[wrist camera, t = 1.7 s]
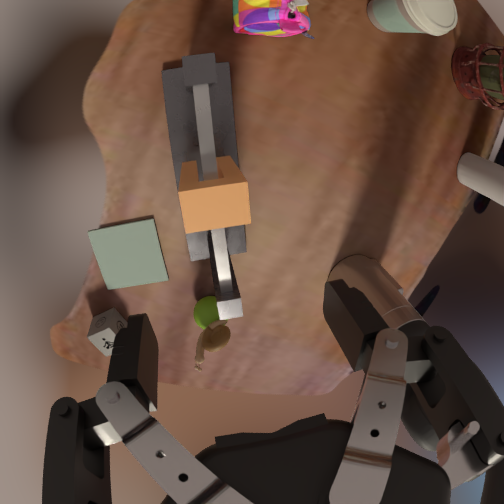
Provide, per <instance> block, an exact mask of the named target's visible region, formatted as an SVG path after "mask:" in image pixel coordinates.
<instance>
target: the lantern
mask: <svg viewBox="0 0 504 504" xmlns="http://www.w3.org/2000/svg"><path fill="white" fill-rule="evenodd" d="M476 48H479V50H476ZM484 48H487V49H486V50H485V51H482V50H483V49H484ZM488 50H496V51H497V52H498V53H499V55H500V56H499V55H486V54H485V52H486V51H488ZM499 50H502V53H501V52H500V51H499ZM451 67H452V74H453V78H454V82H455V84H456V86H457V88H458V90H459V91H460V93H461V94H462V95H463V96H464V97H466V98H467V99H470V100H474V99H480V100H481V101H482V103H483V104H484V105H486V106H488V107H491V108H492V109H496V110H500V109H501V110H504V102H503V103H498V102H496V101H495V100H493V99H492V98H491V96H492V97H495V98H498V99H501V100H504V46H503V47H501V46H494V45H492V44H489V43H485V44H481V45H476V46H475V47H474V49H472V48H468V47H459V48H458V49H457V50H456V51H455V52H454V54H453V57H452V65H451ZM487 98H490V99H491V100H492V101H493V102H494V103H496V104H497V105H499V106H495V105H493V104H491V103H490V102H489V101H488V100H487ZM482 99H484V100H485V102H486V103H485V102H484V101H483V100H482Z"/></svg>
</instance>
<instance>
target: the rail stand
mask: <svg viewBox="0 0 504 504" xmlns="http://www.w3.org/2000/svg"><path fill="white" fill-rule="evenodd" d="M182 64H183V67H181V68H175V69H169V70H163V71H162V81H163V90H164V99H165V107H166V115H167V123H168V130H169V138H170V145H171V151H172V158H173V165H174V171H175V177H176V183H177V189H178V190H179V182H180V174H181V167H182V162H188V161H195V160H196V162H197V170H198V177H199V182H200V181H207V180H213V179H218V171H217V163H216V157H223V156H231V158H232V159H233V161H234V162H235V164H236V165H237V167H238V156H237V145H236V134H235V123H234V112H233V101H232V90H231V79H230V67H229V62H223V63H216V62H215V53H207V54H198V55H191V56H183V57H182ZM238 168H239V167H238ZM178 195H179V194H178ZM179 201H180V199H179ZM180 206H181V205H180ZM181 212H182V211H181ZM182 217H183V216H182ZM183 223H184V222H183ZM184 228H185V227H184ZM185 233H186V232H185ZM186 238H187V244H188V249H189V253H190V258H191V261H195V260H201V259H207V258H210V262H211V269H212V276H213V282H214V289H215V295H216V302H217V307H218V312H219V317H220V320H224V319H230V318H236V317H242V316H243V311H242V303H241V297H240V293H239V289H238V285H237V282H236V278H235V274H234V270H233V266H232V262H231V259H230V255H232V254H238V253H244V252H246V241H245V231H244V225H238V226H232V227H225V228H219V229H212V230H206V231H200V232H194V233H188V234H186Z"/></svg>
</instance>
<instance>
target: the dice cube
mask: <svg viewBox="0 0 504 504" xmlns="http://www.w3.org/2000/svg"><path fill="white" fill-rule="evenodd" d="M127 324H128V323H127V321H126V320H125V319H124V318H123V317H122V316H121V315H120V313H119V312H118V311H117V310H116V309H115V307H114V308H112V309H109V310H107V311H105V312H103V313H101V314H99V315H97V316H95V317H93V319H92V322H91V325H90V329H89V332H88V335H87V338H88V339H89V340H90V341H91V342H92V343H93V344H94V345H95V346H96V347H97V348H98V349H99V350H100V351H101V352H102V353H103V354H104V355H105V356H109V355H112V348H113V343H114V338H115V336H116V334H117V333H118V331H119V330H120V328H127Z"/></svg>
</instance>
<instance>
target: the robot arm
mask: <svg viewBox="0 0 504 504" xmlns="http://www.w3.org/2000/svg"><path fill="white" fill-rule="evenodd" d="M323 313H324V317H325V320H326V322H327V323H328V325H329V327H330V329H331V331H332V332H333V334H334V336H335V338H336V340H337V341H338V343H339V345H340V347H341V349H342V350H343V352H344V354H345V356H346V358H347V359H348V361H349V363H350V365H351V367H352V369H353V370H354V372H356V371H358V370H361V369H363V371H364V373H365V375H364V378H363V382H362V385H361V389H360V392H359V396H358V400H357V403H356V406H355V409H354V412H353V415H352V418H351V421H350V422H347V421H342V420H332V419H326V417H325V414H324V413H323V414H319V415H316V416H312V417H309V418H305V419H301V420H298V421H296V422H294V423H292V424H290V425H288V426H286V427H284V428H282V429H280V430H278V431H276V432H273V433H237V434H231V435H224V436H218V437H215V441H216V444H214V445H211V446H209V447H207V448H205V449H204V450H202V451H201V452H200V453H199V454H197V455H196V456H195V457H194V456H193V455H192V454H191V453H189V452H188V451H187V450H186V449H185V448H184V447H183V446H182V445H181V444H180V443H179V442H178V441H177V440H176V439H175V438H174V437H173V436H172V435H171V434H170V433H169V432H168V431H167V430H166V429H165V428H164V427H163V426H162V425H161V424H160V423H159V422H158V421H157V420H156V419H155V418H153V417H152V416H151V415H150V414H149V411H157V381H158V342H157V339H156V336H155V333H154V331H153V328H152V326H151V323H150V321H149V318H148V316H147V314H146V313H144V314H137V315H130V316H129V319H128V324H127V328H120V330H119V331H118V333H117V334H116V336H115V338H114V343H113V348H112V356H111V359H110V365H109V371H108V377H107V382H106V384H104V385H103V386H102V387H100V388H99V390H98V392H97V394H96V397H94V398H91V399H88V400H85V401H82V402H79V403H77V402H76V401H75V399H73V398H71V397H63V398H60V399H58V400H57V401H56V402H55V403H54V405H53V406H52V408H51V412H50V418H49V425H48V432H47V439H46V447H45V458H44V470H43V489H42V504H112V498H111V482H110V451H109V450H110V445H111V444H113V443H117V442H120V441H122V442H123V443H124V444H125V446H126V447H127V448H128V450H129V451H130V452H131V453H132V455H133V456H134V457H135V458H136V459H137V461H138V462H139V463H140V464H141V465H142V467H143V468H144V469H145V470H146V471H147V472H148V473H149V474H150V476H151V477H152V478H153V479H154V480H155V481H156V482H157V483H158V484H159V485H160V486H161V488H162V489H163V490H164V491H165V492H166V493H167V494H168V495H167V496H166V497H165V499H164V500H163V501H162V503H161V504H450V496H451V490H452V489H454V488H455V487H457V486H459V485H460V484H462V483H464V482H469V481H471V480H474V479H475V478H477V477H478V476H480V475H481V474H483V473H484V472H486V475H485V482H484V488H483V492H482V497H481V503H480V504H504V406H503V404H502V403H501V401H500V399H499V397H498V396H497V394H496V393H495V391H494V389H493V388H492V386H491V385H490V383H489V382H488V380H487V379H486V377H485V376H484V374H483V373H482V372H481V370H480V369H479V368H478V367H477V366H476V364H475V363H474V362H473V361H472V360H471V359H470V358H469V357H468V355H467V354H466V353H465V351H464V350H463V349H462V347H461V346H460V345H459V343H458V342H457V341H456V339H455V338H454V337H453V335H452V334H451V333H450V332H449V331H448V330H447V329H446V328H444V327H440V326H432V327H430V326H429V325H428V324H427V323H426V322H425V320H424V319H423V318H422V317H421V316H420V314H419V313H418V312H417V311H416V310H415V309H414V308H413V307H412V305H411V304H410V303H409V302H408V301H407V300H406V299H405V297H404V296H403V288H402V287H401V286H400V285H399V284H398V283H397V282H396V281H395V279H394V278H393V277H392V276H391V275H390V274H389V273H388V272H387V271H386V270H385V269H384V268H383V267H382V266H381V265H380V264H379V263H378V262H377V261H376V260H375V259H369V258H367V257H366V256H363V255H353V256H350V257H347V258H345V259H343V260H342V261H341V262H339V263H338V264H337V265H336V266H335V267H334V268H333V270H332V271H331V273H330V275H329V278H328V282H326V283H325V290H324V302H323ZM400 418H401V420H402V422H403V424H404V426H405V428H406V429H407V431H408V432H409V434H410V436H411V437H412V438H413V440H414V441H415V442H416V443H417V444H418V445H419V446H421V447H422V448H423V449H426V450H428V451H436V452H437V459H438V464H437V463H435V462H433V461H431V460H429V459H426V458H424V457H422V456H419V455H417V454H415V453H412V452H410V451H408V450H406V449H404V448H402V447H399V446H397V445H395V441H396V437H397V433H398V428H399V423H400Z"/></svg>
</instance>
